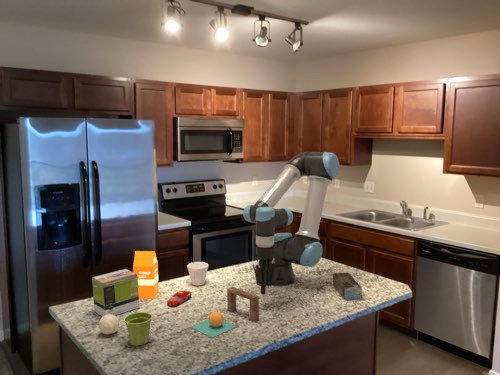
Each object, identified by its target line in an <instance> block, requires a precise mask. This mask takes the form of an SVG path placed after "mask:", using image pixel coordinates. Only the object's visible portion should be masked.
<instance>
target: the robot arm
mask: <svg viewBox="0 0 500 375" xmlns="http://www.w3.org/2000/svg"><path fill="white" fill-rule="evenodd" d="M340 165H341V164H340V161H339V158H338V156H337V155H336V154H335V153H333V152H327V151H321V152H320V151H319V152H318V151H304V152H300V153H299V154H296V155H295V156H294V157H292V158H291V159H290V160H289V161H288V162H286V164H285V165H284V166H283V169H282V170H283V171H282V172H281V173H280V174H279V175H278V176H277V178H276V179H274V181H273V182H272V183H271V185H269V187H268V188H267V189H266V190H265V192H264V193H263V194H262V195H261V196H260V198H258V200H257V201H256V202H255V203H254V204H253V205H252V204H248V205H246V206H245V207H244V209H243V212H242V213H243V214H242V216H243V218H244V220H245V221H246V222H249V223H252V224H255V245H256V246H255V254H256V258H257V259H256V262H255V263H254V264H252V269H253V270H254V275H255V277H254V278H255V281H256V285H257V286H259V287H260V294H261V296H260V297H261V299H260V300H261V301H262V302H264V303H267V302H269V301H270V300H269V299H270V298H269V296H270V287H271V286H275V287H278V286H279V287H280V286H281V287H285V286H290V285H293V284H294V283H295V282H296V274H295V272H294V269H293V265H292V264H294V265H297V266H302V267H307V268H312V267H315V266H316V265H317V264H318V263H319V262H320V261H321V259H322V255H323V251H324V250H323V245H322V243H320V240H321V239H320V237H319V235H318V234H319V229H320V223H321V218H322V215H323V214H322V213H323V209H324V205H325V200H326V195H327V190H328V186H329V185H330V184H332V182H333V180H334V179H335V178H337V177H338V175H339V174H340V168H341V167H340ZM306 176H307V179H308V181H309V183H308V188H307V193H306V197H305V202H304V205H303V210H302V215H301V219H300V225H299V230H298V231H297V232H296V233H294V237H293V234H292V233H291V232H277V233H276V232H275V229H279V228H283V227H286V226H288V225H291V224H292V222H293V220H294V215H293V212H292V211H291V209H290V208H287V207H284V208H274V207H275V206H276V205H277V204H278V203H279V201H281V199H282V198H283V197H284V196H285V194H286V193H287V192H288V190H289V189H290V188H291V187H292V185H294V183H295V182H296V181H299V180H300V179H301V178H303V177H306Z"/></svg>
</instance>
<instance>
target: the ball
mask: <svg viewBox="0 0 500 375" xmlns="http://www.w3.org/2000/svg"><path fill="white" fill-rule="evenodd" d="M208 320H209V323H210V325H211V326H213V327H219V326H221V325H222V323H223V321H225V320H224V316H223V313H221V312H220V311H213V312H211V313H210V315H209V316H208Z"/></svg>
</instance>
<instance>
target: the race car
mask: <svg viewBox="0 0 500 375" xmlns="http://www.w3.org/2000/svg"><path fill="white" fill-rule="evenodd" d="M191 299H192V292H191V291H190V290H179V291H177V292H176V293H173V294H172V295H171V297H170V298H169V299H168V300H167V302H166V304H167V306H168V307H172V308H173V307H175V308H176V307H179V306H181V305H182V304H184V303H185V302H188V301H189V300H191Z"/></svg>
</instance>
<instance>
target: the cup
mask: <svg viewBox="0 0 500 375" xmlns="http://www.w3.org/2000/svg"><path fill="white" fill-rule="evenodd" d="M186 266H187V270H188V274H189V279H190V282H191V285H192V286H194V287H199V286H200V287H202V286H204V285H205V284H206V279H207V273H208V269H209V264H208V263H207V262H203V261H195V262H194V261H193V262H191V263H190V262H189V263H188V264H187V265H186Z"/></svg>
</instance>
